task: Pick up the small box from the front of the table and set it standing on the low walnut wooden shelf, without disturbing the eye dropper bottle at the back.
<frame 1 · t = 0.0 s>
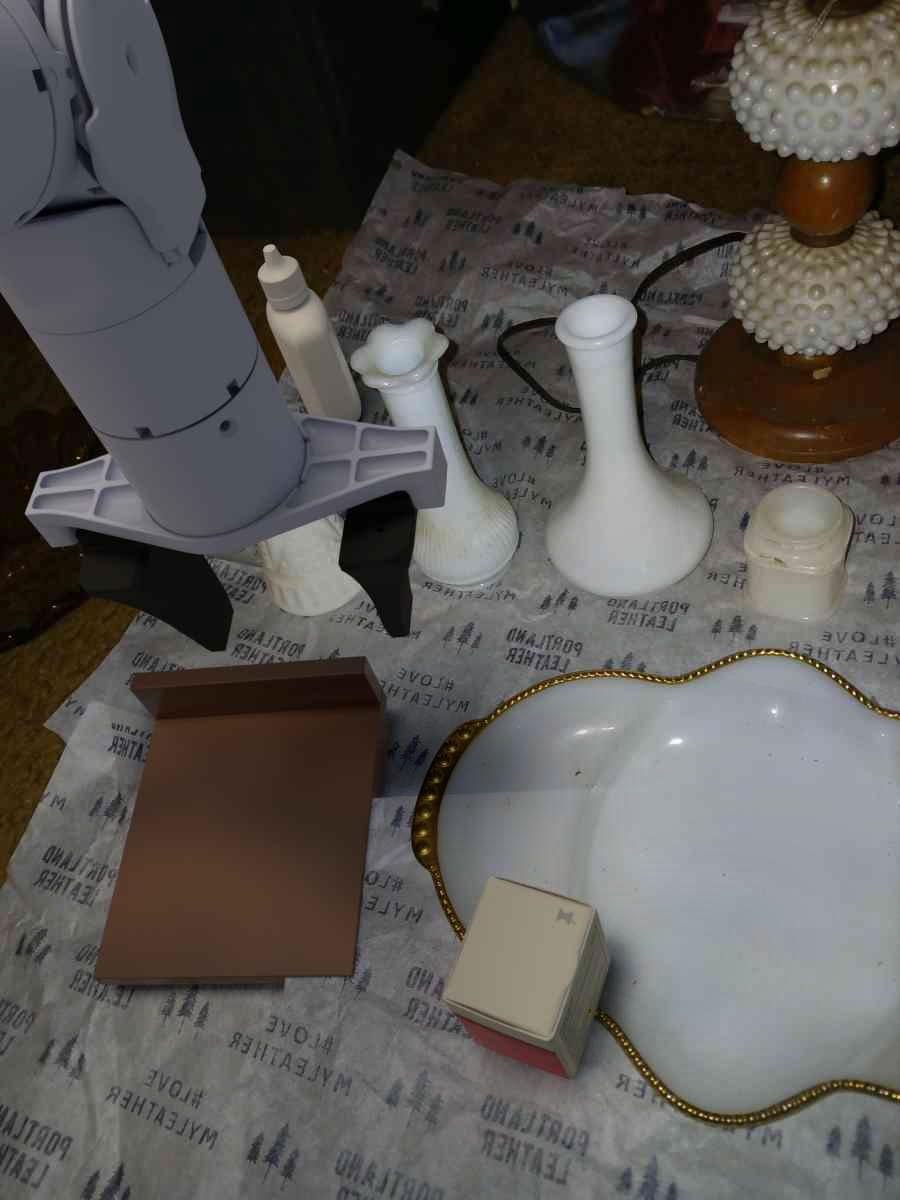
hand: (310, 624, 43), 12 cm above the table, tool pointing down, fingers open, 7 cm apart
eye dropper bottle: (334, 406, 69), on the table
small box: (550, 1014, 44), on the table
shelf: (260, 842, 51), on the table
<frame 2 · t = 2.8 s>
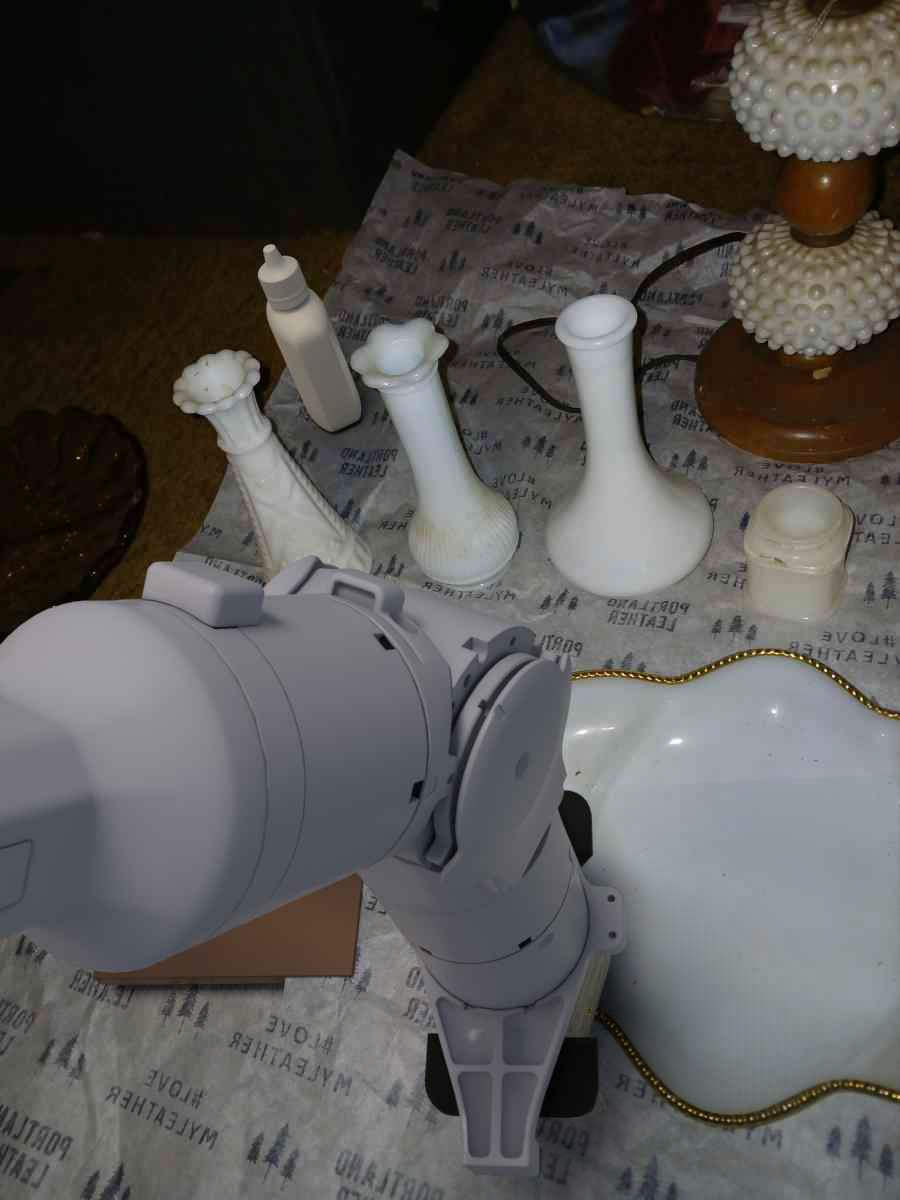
hand: (542, 999, 42), 2 cm above the table, tool pointing down, fingers closed on small box, 6 cm apart
small box: (550, 1014, 44), on the table, touching gripper
everything else where it was.
when the fingers open (4 cm above the table, at t = 7.7 s): small box stays where it is, resting on shelf.
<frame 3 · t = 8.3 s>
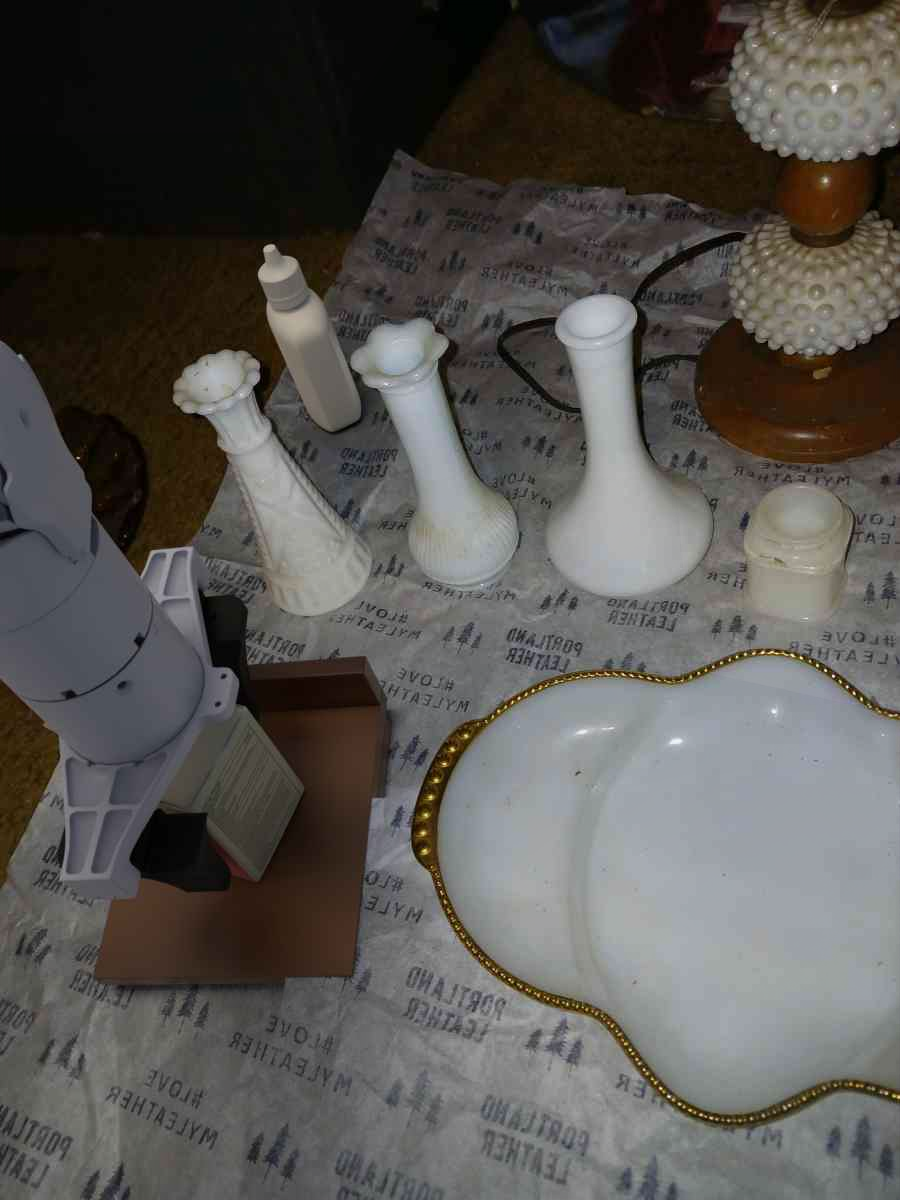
hand: (224, 801, 48), 5 cm above the table, tool pointing down, fingers open, 7 cm apart
small box: (247, 825, 50), point 2 cm above the table, touching shelf
everything else where it was.
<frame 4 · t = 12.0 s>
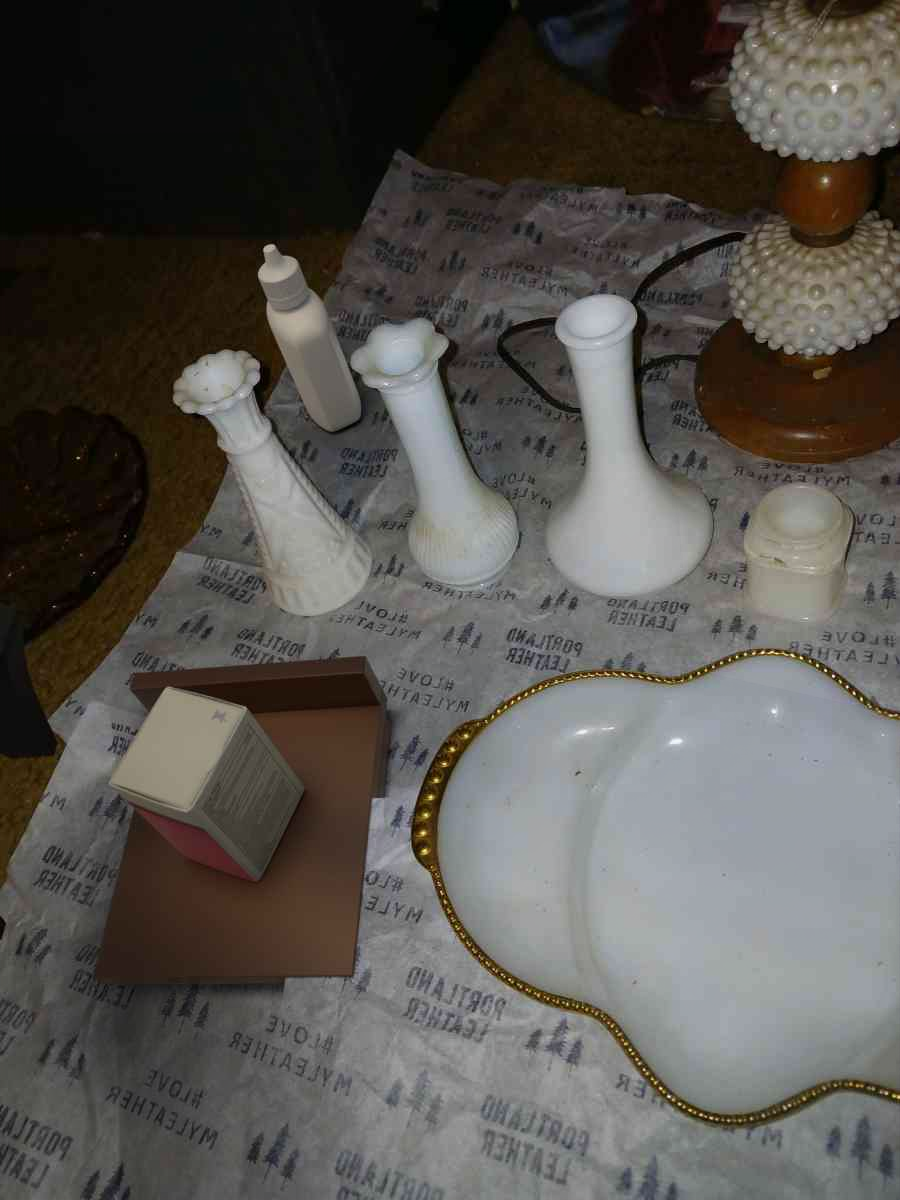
hand: (8, 836, 42), 10 cm above the table, tool pointing down, fingers open, 7 cm apart
nothing on the table moved.
at the end: small box inside the target area on the shelf (0.0 cm from its centre), point 1.8 cm above the shelf's base; small box tilted 0°; eye dropper bottle moved 0.2 cm from its start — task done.
